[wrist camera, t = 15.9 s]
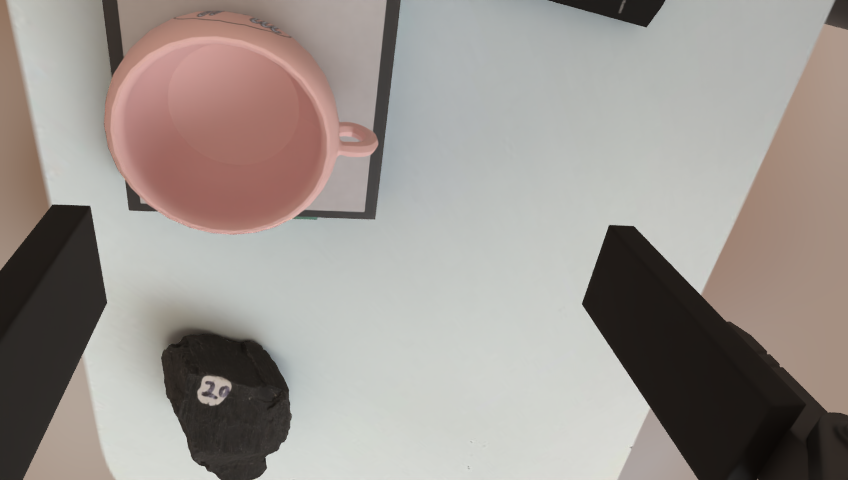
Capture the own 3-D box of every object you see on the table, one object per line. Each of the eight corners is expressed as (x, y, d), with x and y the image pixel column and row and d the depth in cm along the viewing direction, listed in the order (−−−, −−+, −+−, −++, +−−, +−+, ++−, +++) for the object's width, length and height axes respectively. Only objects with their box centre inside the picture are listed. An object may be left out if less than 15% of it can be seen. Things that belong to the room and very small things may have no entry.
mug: (135, 176, 31) (104, 233, 26) (126, -22, 26) (86, 0, 21) (357, 198, 34) (367, 252, 29) (386, 25, 29) (404, 54, 24)
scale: (395, -32, 31) (405, -24, 28) (369, 205, 38) (375, 231, 35) (110, -73, 28) (89, -68, 25) (140, 196, 35) (127, 223, 32)
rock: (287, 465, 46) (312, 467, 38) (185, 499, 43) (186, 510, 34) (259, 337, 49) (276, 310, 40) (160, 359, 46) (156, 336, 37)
